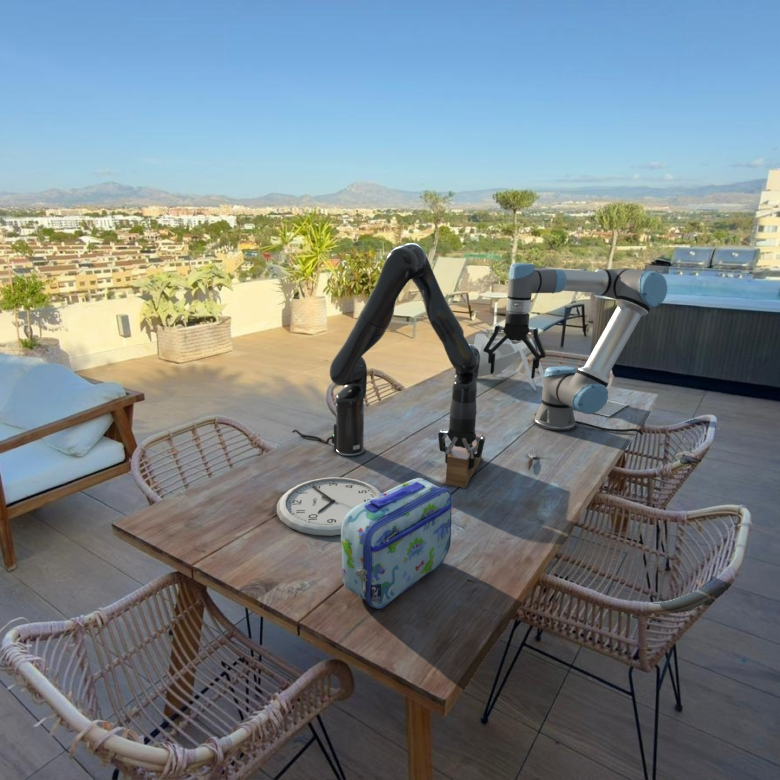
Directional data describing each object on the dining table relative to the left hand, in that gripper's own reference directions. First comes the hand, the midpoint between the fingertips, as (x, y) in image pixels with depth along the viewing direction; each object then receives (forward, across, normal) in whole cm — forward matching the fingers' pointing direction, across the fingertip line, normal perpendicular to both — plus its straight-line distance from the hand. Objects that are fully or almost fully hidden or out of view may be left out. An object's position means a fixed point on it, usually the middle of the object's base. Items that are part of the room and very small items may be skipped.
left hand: (459, 466), depth 157 cm
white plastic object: (+5, -8, +108) cm, 108 cm away
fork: (+5, +18, +23) cm, 30 cm away
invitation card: (+5, +39, +92) cm, 100 cm away
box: (+5, 0, +7) cm, 9 cm away
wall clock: (+5, -28, -28) cm, 40 cm away
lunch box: (+5, 0, -51) cm, 51 cm away
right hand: (-21, +8, +32) cm, 40 cm away
